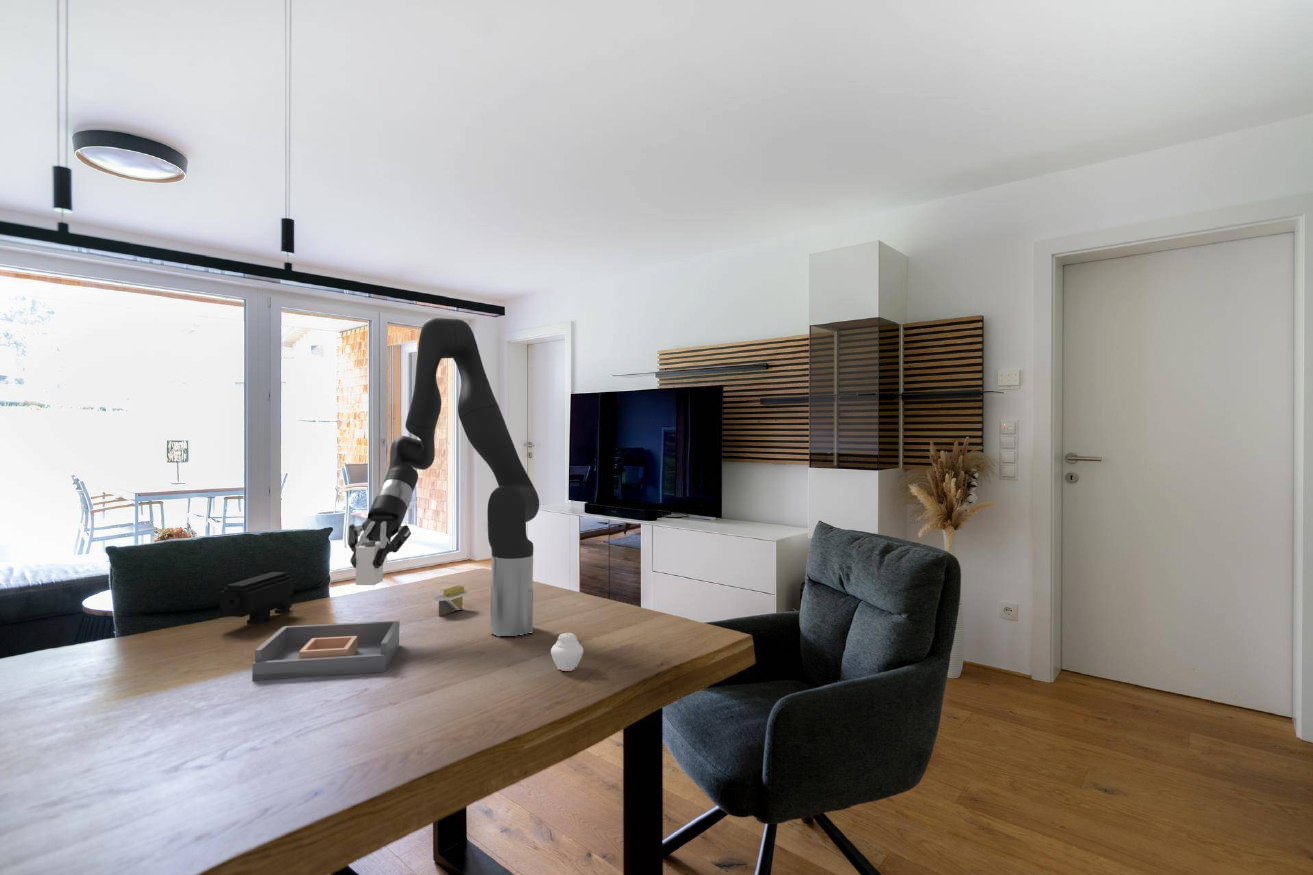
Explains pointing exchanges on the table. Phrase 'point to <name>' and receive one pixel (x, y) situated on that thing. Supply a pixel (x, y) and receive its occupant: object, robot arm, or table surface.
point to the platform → (451, 599)
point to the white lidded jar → (567, 651)
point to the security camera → (257, 597)
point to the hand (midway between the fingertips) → (365, 565)
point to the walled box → (327, 650)
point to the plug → (367, 564)
